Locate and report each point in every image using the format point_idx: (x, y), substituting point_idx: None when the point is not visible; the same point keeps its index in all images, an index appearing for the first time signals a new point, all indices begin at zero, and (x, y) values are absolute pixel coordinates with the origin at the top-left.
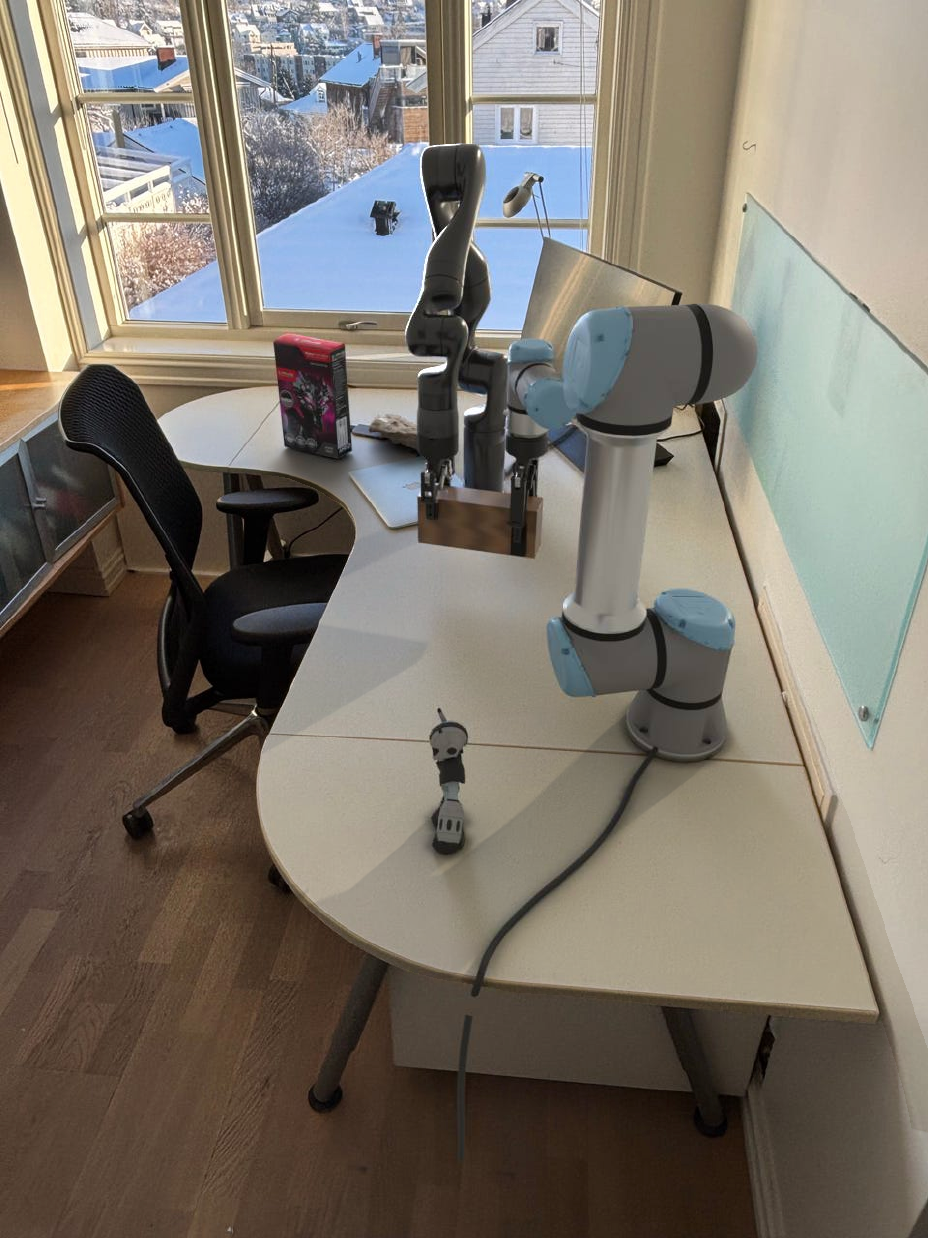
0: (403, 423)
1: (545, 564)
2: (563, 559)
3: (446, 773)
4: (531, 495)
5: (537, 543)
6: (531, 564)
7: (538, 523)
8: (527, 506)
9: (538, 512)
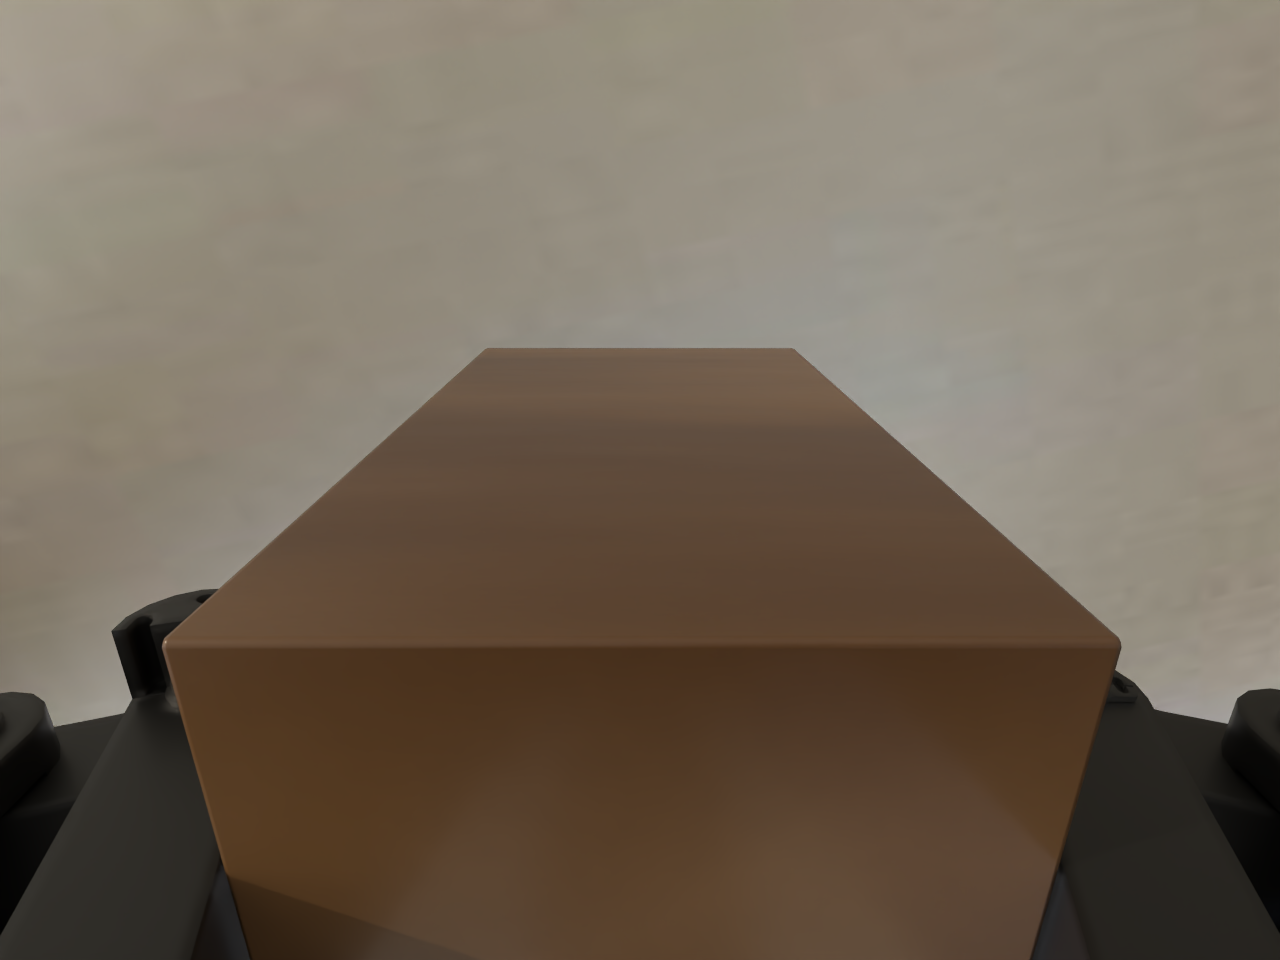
0: None
1: (328, 294)
2: (204, 179)
3: None
4: (223, 925)
5: (684, 370)
6: (367, 384)
7: (724, 456)
8: (842, 891)
9: (860, 572)
